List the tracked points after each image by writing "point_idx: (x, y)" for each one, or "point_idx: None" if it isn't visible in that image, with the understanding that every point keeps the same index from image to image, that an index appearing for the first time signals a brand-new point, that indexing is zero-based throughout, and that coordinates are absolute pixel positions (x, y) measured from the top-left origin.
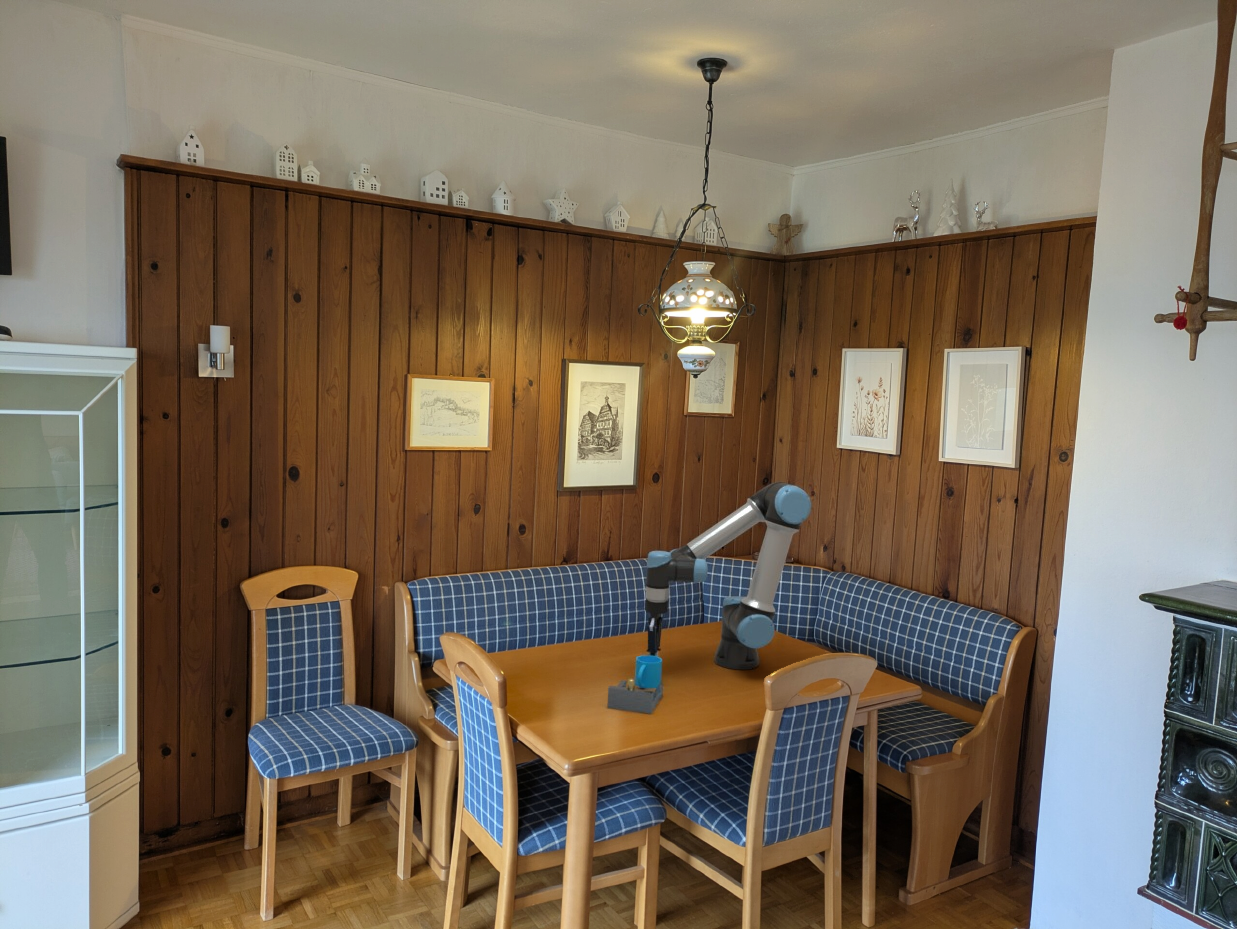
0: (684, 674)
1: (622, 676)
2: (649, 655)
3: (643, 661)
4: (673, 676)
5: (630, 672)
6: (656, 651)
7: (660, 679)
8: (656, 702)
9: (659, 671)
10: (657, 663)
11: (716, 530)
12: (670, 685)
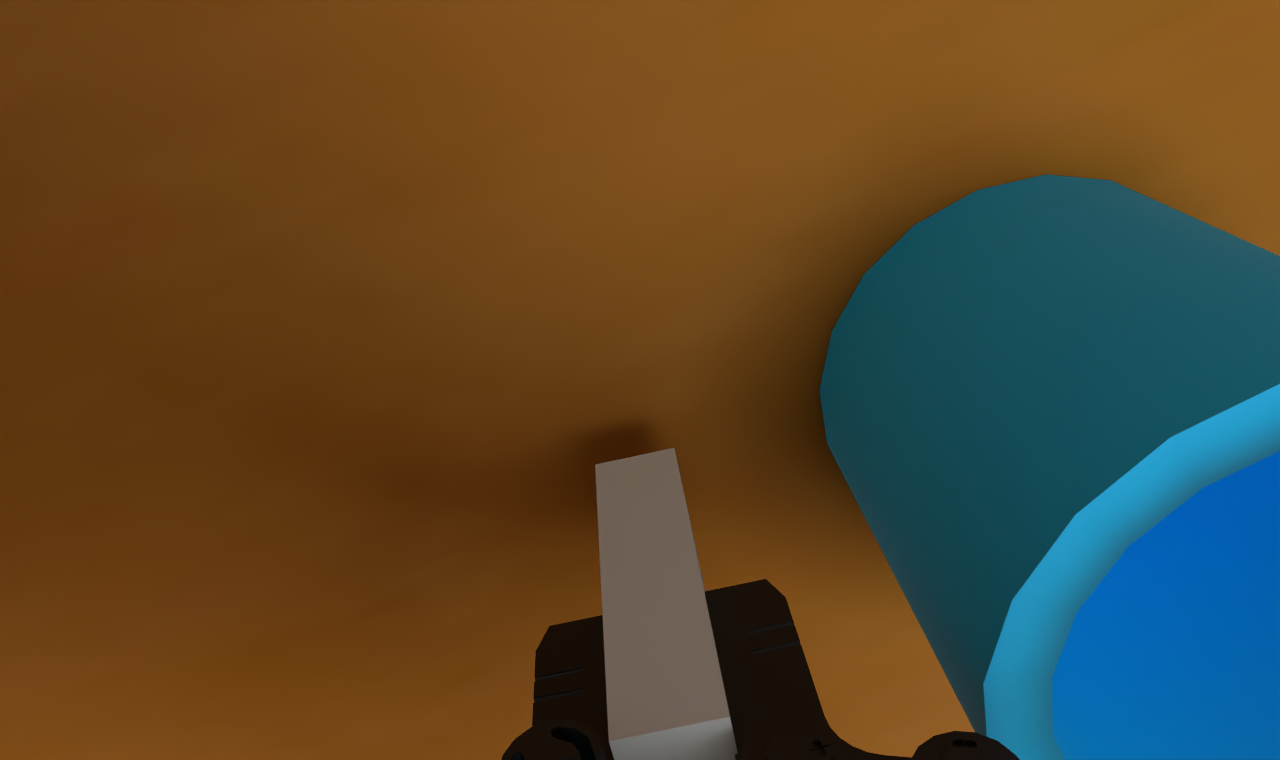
0: (154, 68)
1: (860, 739)
2: None
3: (1057, 716)
4: (412, 199)
5: None
6: (834, 751)
7: (1082, 211)
8: None
9: (1273, 266)
10: None
11: None
12: (904, 40)
